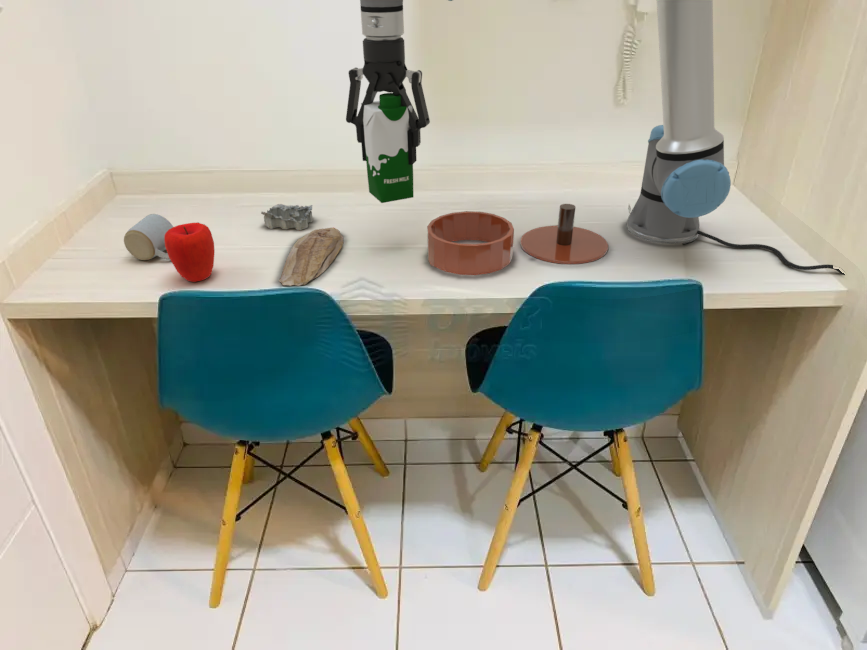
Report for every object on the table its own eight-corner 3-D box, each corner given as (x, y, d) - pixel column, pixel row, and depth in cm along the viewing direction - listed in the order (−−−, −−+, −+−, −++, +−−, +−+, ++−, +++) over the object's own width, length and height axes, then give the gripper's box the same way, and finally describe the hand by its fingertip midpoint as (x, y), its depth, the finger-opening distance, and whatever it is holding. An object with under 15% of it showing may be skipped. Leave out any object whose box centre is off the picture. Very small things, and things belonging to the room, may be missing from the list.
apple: (199, 263, 130) (188, 214, 124) (230, 272, 126) (219, 222, 120) (164, 281, 123) (150, 229, 117) (195, 291, 119) (182, 239, 114)
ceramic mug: (125, 260, 131) (116, 226, 127) (149, 244, 138) (141, 211, 134) (171, 266, 129) (162, 231, 125) (193, 249, 136) (185, 216, 132)
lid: (609, 235, 139) (615, 195, 134) (604, 271, 124) (610, 228, 119) (527, 226, 143) (530, 187, 138) (513, 261, 128) (515, 218, 124)
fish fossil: (326, 286, 120) (325, 280, 120) (274, 289, 121) (273, 284, 120) (345, 229, 142) (344, 224, 141) (300, 233, 143) (299, 228, 142)
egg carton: (261, 229, 145) (258, 212, 142) (274, 216, 151) (271, 200, 149) (305, 231, 143) (302, 214, 140) (316, 218, 149) (314, 202, 147)
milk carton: (379, 205, 124) (372, 100, 113) (363, 191, 131) (355, 90, 120) (419, 198, 127) (416, 95, 116) (402, 184, 134) (397, 86, 123)
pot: (518, 245, 135) (520, 215, 131) (502, 282, 121) (504, 250, 117) (441, 236, 139) (441, 207, 136) (417, 271, 125) (416, 240, 121)
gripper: (319, 38, 113) (331, 162, 125) (435, 41, 107) (436, 170, 119) (336, 32, 119) (346, 151, 131) (446, 35, 113) (447, 159, 125)
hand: (389, 160), depth 125 cm, fingers closed on milk carton, 9 cm apart
